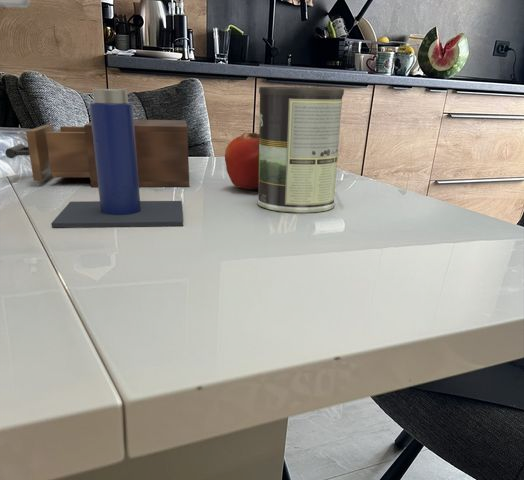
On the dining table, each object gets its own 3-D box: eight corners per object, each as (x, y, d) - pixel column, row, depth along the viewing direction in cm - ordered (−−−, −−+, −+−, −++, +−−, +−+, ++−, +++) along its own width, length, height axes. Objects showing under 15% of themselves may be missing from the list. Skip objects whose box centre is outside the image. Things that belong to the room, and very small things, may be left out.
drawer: (3, 180, 80) (-6, 130, 77) (25, 167, 92) (18, 124, 89) (127, 180, 83) (122, 131, 80) (133, 167, 94) (129, 125, 91)
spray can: (98, 215, 62) (84, 89, 57) (103, 206, 67) (90, 88, 61) (139, 214, 63) (130, 90, 57) (141, 206, 67) (132, 89, 61)
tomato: (242, 182, 88) (242, 129, 85) (294, 188, 85) (296, 132, 81) (212, 191, 81) (211, 133, 77) (268, 197, 77) (270, 136, 74)
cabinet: (91, 187, 82) (84, 125, 78) (102, 172, 95) (96, 119, 91) (189, 186, 84) (187, 126, 80) (187, 172, 97) (185, 120, 93)
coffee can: (246, 209, 70) (246, 86, 63) (271, 195, 78) (274, 86, 72) (324, 216, 67) (333, 88, 60) (342, 201, 75) (351, 88, 69)
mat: (51, 227, 59) (51, 223, 58) (70, 205, 69) (70, 201, 69) (183, 225, 61) (183, 221, 60) (181, 204, 71) (181, 200, 71)
